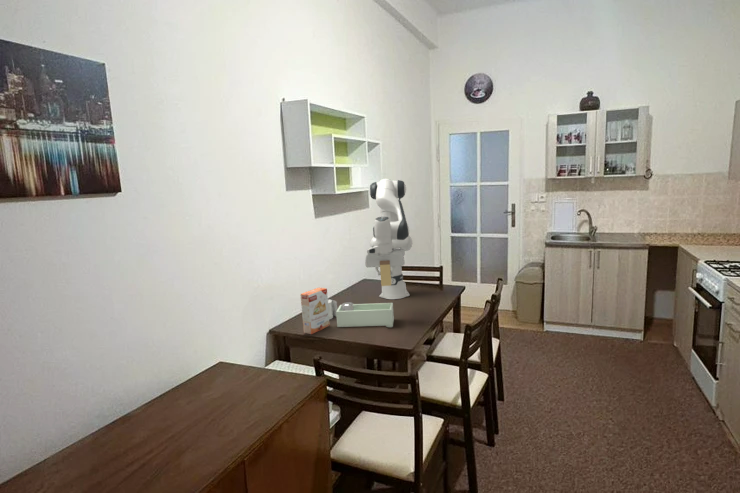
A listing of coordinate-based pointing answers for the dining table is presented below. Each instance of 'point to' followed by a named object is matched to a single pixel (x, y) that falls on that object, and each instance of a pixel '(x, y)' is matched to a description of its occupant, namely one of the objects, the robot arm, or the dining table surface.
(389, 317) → the tote
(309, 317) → the cracker box
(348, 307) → the tin can
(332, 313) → the toilet tissue
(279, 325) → the dining table surface
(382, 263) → the oat carton
